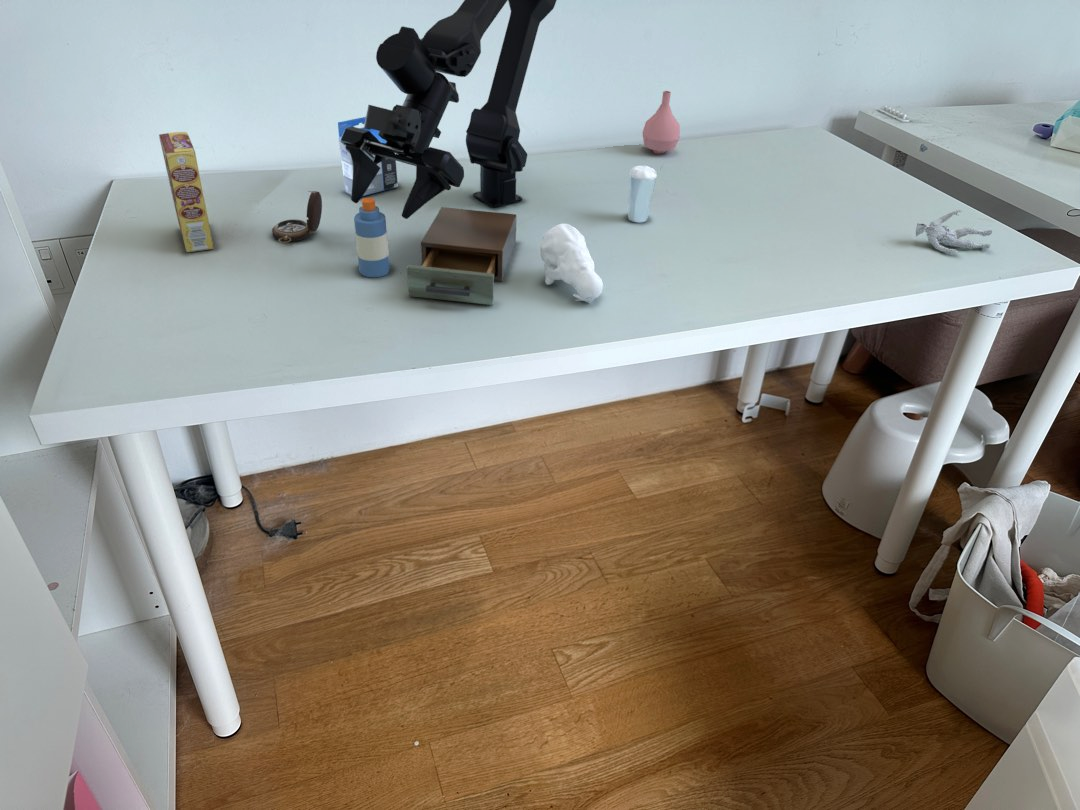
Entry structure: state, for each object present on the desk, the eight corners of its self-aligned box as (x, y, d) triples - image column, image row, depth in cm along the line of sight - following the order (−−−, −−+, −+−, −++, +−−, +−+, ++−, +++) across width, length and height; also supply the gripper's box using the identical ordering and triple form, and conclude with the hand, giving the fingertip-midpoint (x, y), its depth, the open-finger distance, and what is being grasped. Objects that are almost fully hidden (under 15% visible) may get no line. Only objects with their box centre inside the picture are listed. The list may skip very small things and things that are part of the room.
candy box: (216, 249, 121) (195, 150, 111) (186, 253, 119) (162, 153, 110) (208, 226, 127) (187, 130, 118) (180, 230, 125) (156, 133, 116)
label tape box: (355, 199, 138) (348, 128, 131) (343, 191, 140) (336, 121, 133) (398, 188, 143) (394, 119, 135) (386, 181, 145) (381, 112, 138)
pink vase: (633, 152, 164) (640, 92, 157) (651, 142, 169) (658, 84, 162) (666, 161, 160) (675, 100, 153) (683, 151, 166) (693, 91, 158)
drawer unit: (442, 236, 128) (441, 206, 125) (515, 243, 127) (516, 214, 124) (422, 273, 118) (420, 242, 114) (501, 281, 117) (502, 250, 114)
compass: (278, 225, 128) (271, 181, 124) (327, 227, 128) (322, 184, 124) (263, 246, 122) (255, 201, 118) (314, 249, 122) (308, 204, 118)
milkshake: (654, 226, 135) (662, 169, 129) (622, 222, 135) (629, 165, 129) (656, 216, 138) (664, 159, 132) (626, 212, 139) (632, 156, 133)
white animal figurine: (575, 214, 115) (621, 255, 108) (568, 265, 121) (612, 307, 114) (538, 222, 113) (582, 264, 105) (533, 273, 118) (574, 317, 111)
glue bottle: (358, 264, 119) (350, 194, 112) (388, 262, 120) (382, 192, 113) (360, 279, 115) (352, 207, 109) (391, 276, 116) (386, 205, 110)
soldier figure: (989, 264, 131) (932, 242, 128) (965, 271, 136) (909, 251, 132) (994, 220, 132) (938, 198, 129) (970, 229, 137) (915, 207, 134)
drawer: (431, 255, 122) (429, 228, 119) (508, 262, 121) (508, 235, 118) (405, 302, 110) (403, 273, 107) (490, 311, 109) (490, 282, 106)
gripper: (341, 67, 111) (295, 168, 110) (450, 92, 104) (402, 200, 103) (382, 111, 121) (340, 203, 120) (483, 136, 114) (440, 234, 113)
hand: (378, 209), depth 114 cm, fingers open, 9 cm apart
